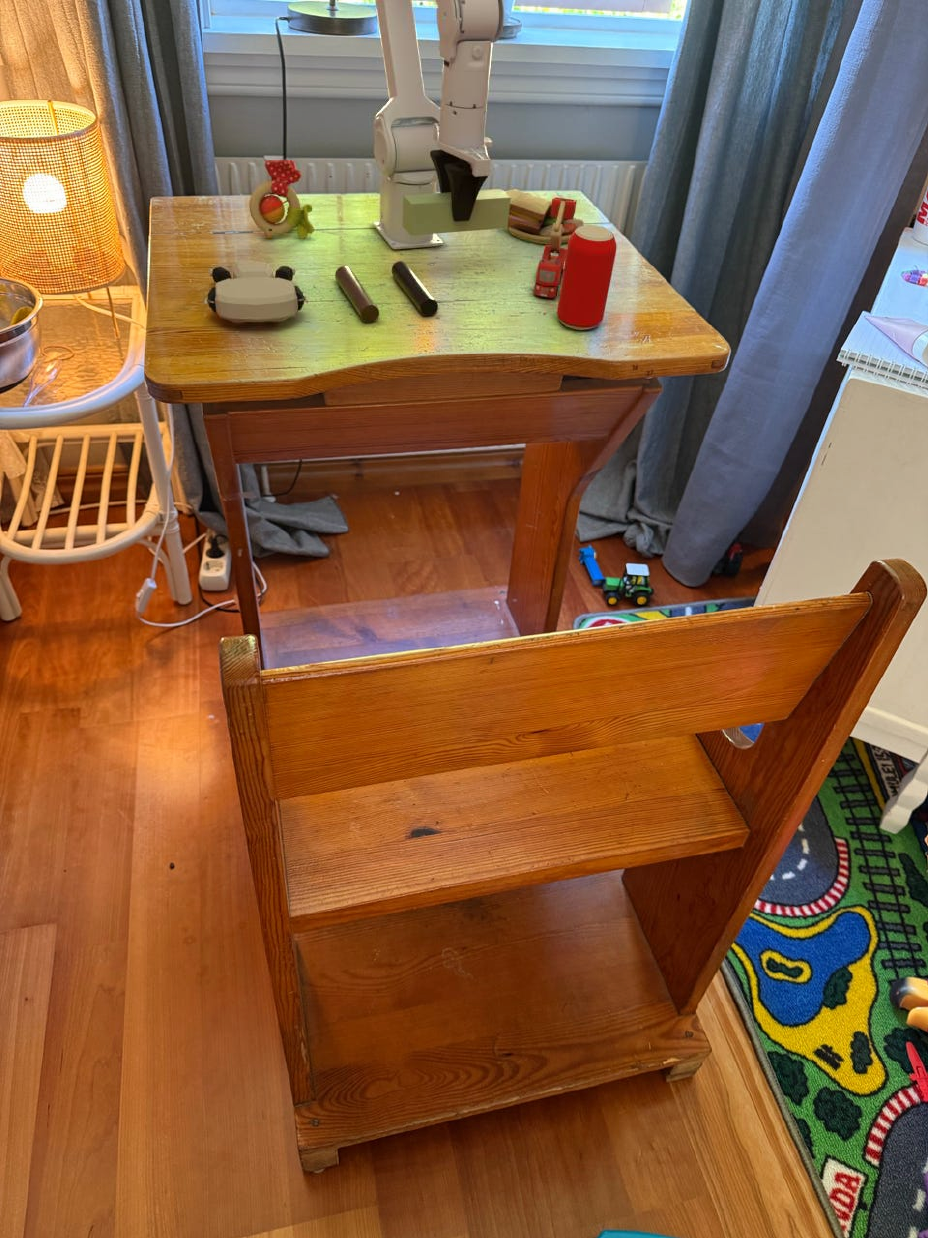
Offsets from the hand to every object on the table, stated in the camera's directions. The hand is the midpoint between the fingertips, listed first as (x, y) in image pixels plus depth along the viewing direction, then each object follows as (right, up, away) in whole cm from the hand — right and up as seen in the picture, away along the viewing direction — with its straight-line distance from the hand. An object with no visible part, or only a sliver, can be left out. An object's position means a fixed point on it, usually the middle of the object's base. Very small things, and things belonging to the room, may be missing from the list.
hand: (456, 214), depth 122 cm
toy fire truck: (+13, -6, +9) cm, 17 cm away
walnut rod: (-13, -12, -1) cm, 18 cm away
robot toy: (-26, -14, -5) cm, 30 cm away
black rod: (-6, -10, +1) cm, 12 cm away
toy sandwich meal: (+13, +7, +22) cm, 26 cm away
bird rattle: (-25, +2, +13) cm, 28 cm away
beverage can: (+16, -15, 0) cm, 22 cm away
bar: (0, -1, +1) cm, 2 cm away
